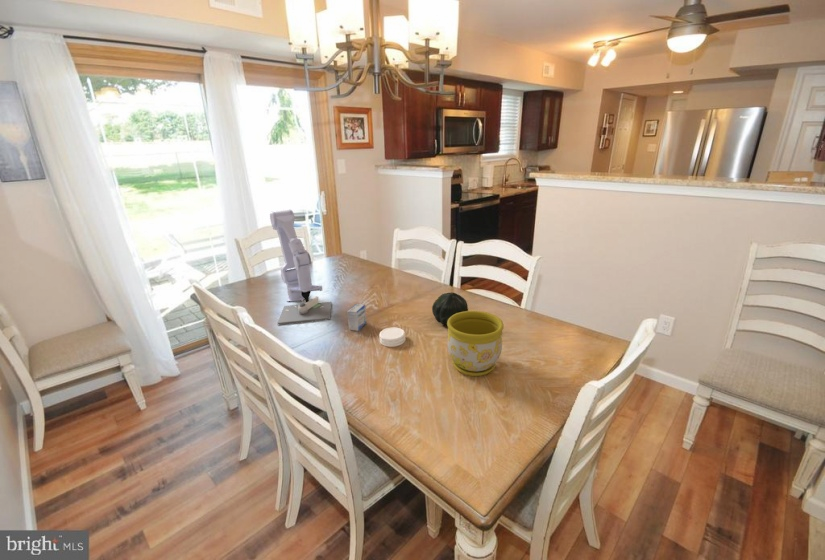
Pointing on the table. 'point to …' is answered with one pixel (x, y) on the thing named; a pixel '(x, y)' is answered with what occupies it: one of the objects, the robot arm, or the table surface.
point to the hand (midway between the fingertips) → (308, 305)
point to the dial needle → (307, 305)
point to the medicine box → (356, 317)
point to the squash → (448, 306)
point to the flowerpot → (474, 341)
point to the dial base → (313, 314)
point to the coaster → (392, 337)
